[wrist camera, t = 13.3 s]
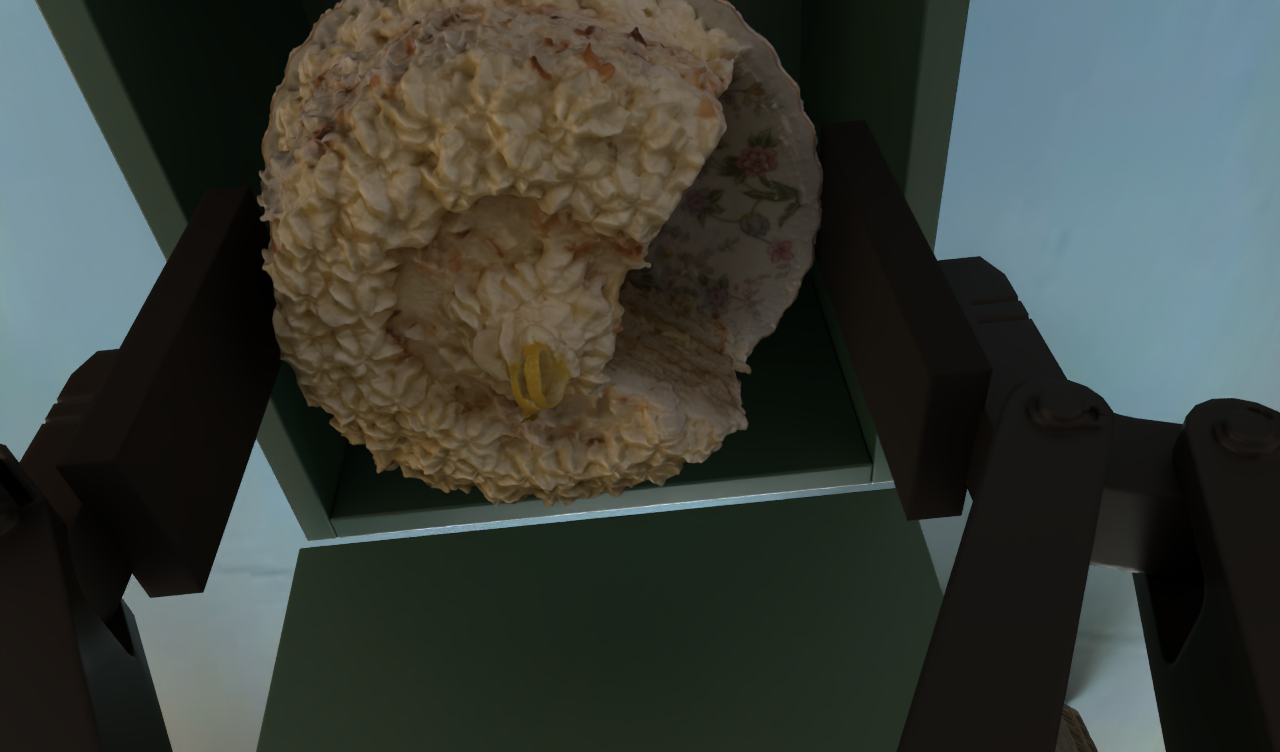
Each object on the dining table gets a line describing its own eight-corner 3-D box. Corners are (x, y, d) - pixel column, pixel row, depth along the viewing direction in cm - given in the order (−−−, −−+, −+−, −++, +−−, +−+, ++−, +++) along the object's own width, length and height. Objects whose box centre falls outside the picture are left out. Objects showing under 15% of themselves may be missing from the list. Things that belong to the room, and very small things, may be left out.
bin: (187, -284, 23) (-54, -171, 14) (837, -358, 23) (1012, -290, 14) (375, 279, 34) (307, 542, 25) (813, 233, 34) (901, 481, 25)
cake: (402, 434, 22) (340, 642, 18) (158, 1, 15) (-27, 173, 11) (845, 367, 20) (889, 580, 16) (784, -153, 13) (833, -16, 9)
